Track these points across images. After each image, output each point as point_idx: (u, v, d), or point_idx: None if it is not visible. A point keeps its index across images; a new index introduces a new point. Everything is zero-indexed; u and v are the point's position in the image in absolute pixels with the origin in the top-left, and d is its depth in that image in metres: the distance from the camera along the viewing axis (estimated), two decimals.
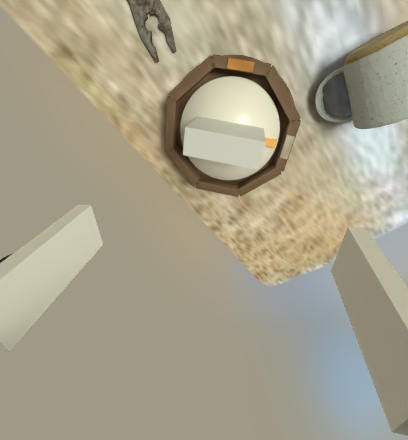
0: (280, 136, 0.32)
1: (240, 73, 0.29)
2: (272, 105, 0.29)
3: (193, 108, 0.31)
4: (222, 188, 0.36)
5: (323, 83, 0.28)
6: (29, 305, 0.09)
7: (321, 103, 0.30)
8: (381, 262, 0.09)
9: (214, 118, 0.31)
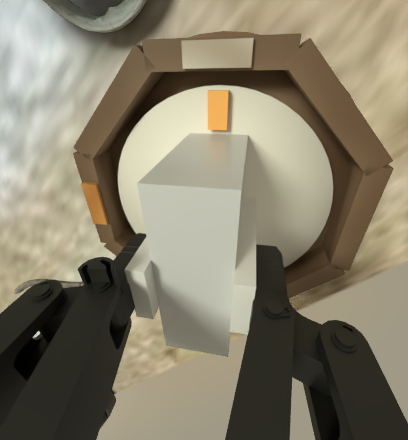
0: (208, 77, 0.12)
1: None
2: (141, 125, 0.13)
3: None
4: (356, 213, 0.13)
5: (82, 23, 0.12)
6: None
7: (127, 2, 0.12)
8: (250, 219, 0.11)
9: None
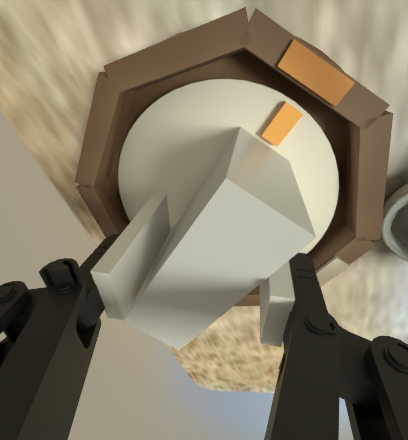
0: None
1: (295, 91, 0.12)
2: (197, 88, 0.12)
3: None
4: None
5: None
6: (134, 280, 0.10)
7: (393, 215, 0.15)
8: None
9: (180, 214, 0.16)
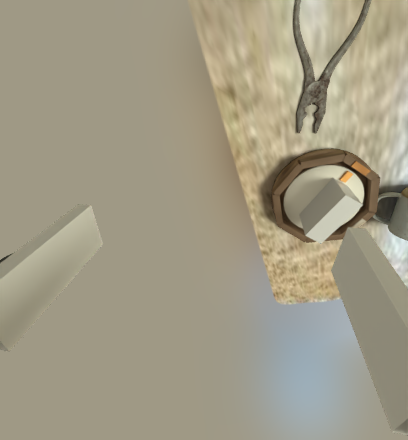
0: None
1: (352, 168, 0.41)
2: (321, 168, 0.41)
3: (293, 215, 0.46)
4: (297, 233, 0.47)
5: (383, 197, 0.42)
6: (29, 305, 0.09)
7: None
8: (381, 262, 0.09)
9: (306, 205, 0.45)
